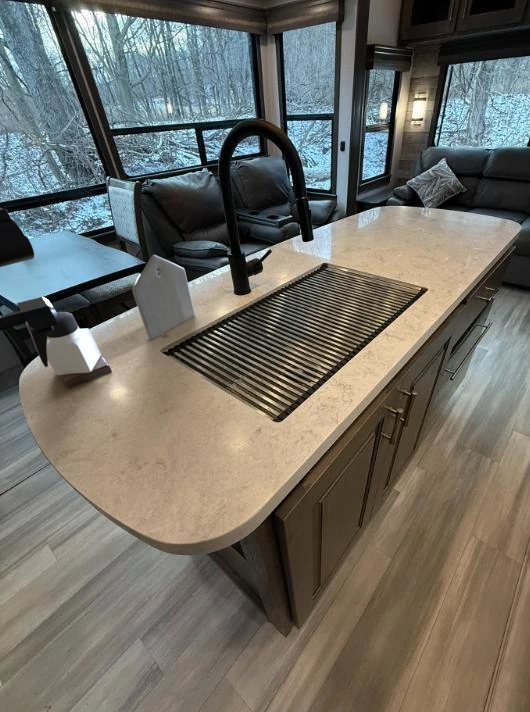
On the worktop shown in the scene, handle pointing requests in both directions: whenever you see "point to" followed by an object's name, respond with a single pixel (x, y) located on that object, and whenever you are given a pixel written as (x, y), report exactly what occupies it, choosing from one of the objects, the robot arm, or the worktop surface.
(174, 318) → the grey house-shaped board
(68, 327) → the medicine bottle
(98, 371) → the brown square tile
